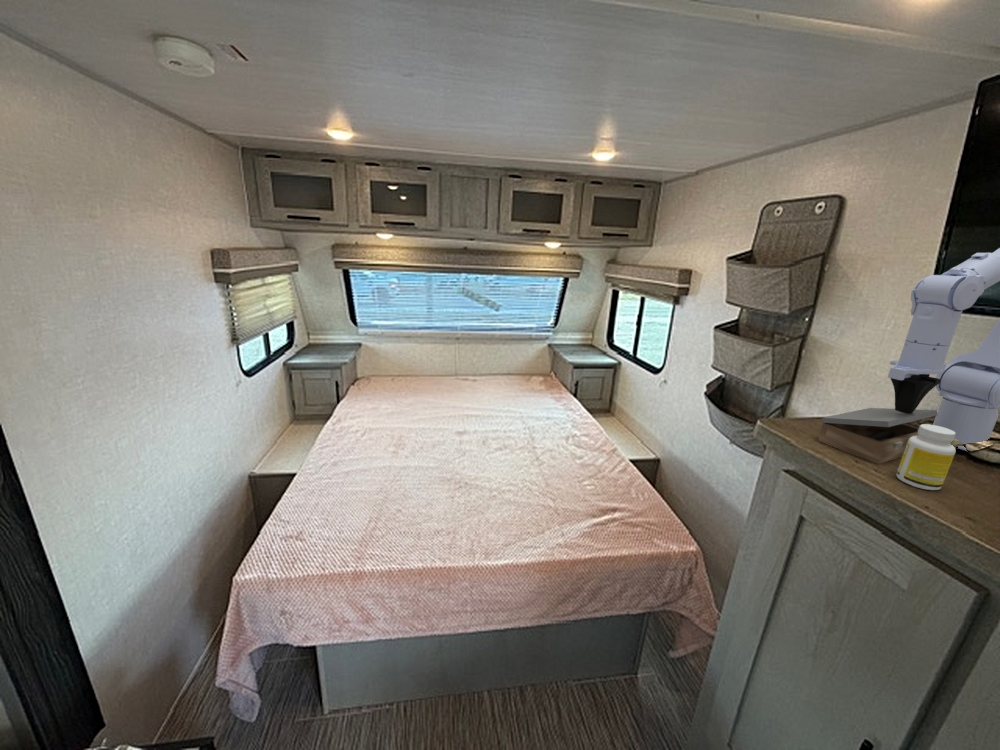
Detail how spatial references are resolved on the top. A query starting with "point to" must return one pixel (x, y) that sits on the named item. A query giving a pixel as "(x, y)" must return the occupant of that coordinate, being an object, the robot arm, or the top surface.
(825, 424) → the box
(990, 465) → the top surface
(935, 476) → the supplement bottle
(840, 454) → the top surface
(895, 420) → the lid
